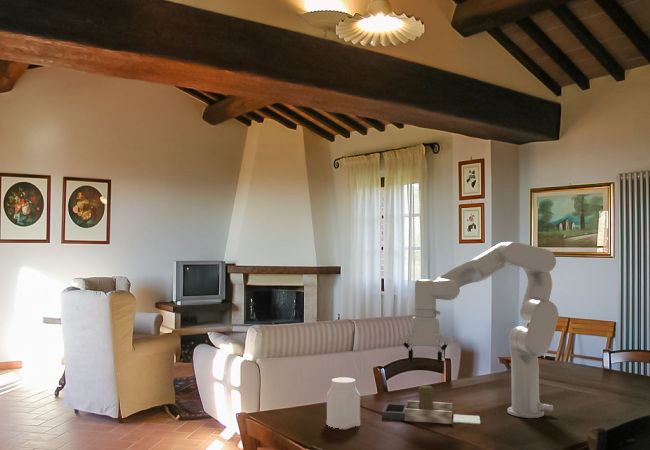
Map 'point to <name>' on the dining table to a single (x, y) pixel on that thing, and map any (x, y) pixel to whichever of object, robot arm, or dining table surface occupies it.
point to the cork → (426, 397)
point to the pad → (466, 419)
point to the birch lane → (429, 413)
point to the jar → (343, 404)
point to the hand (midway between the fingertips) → (425, 362)
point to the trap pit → (394, 411)
